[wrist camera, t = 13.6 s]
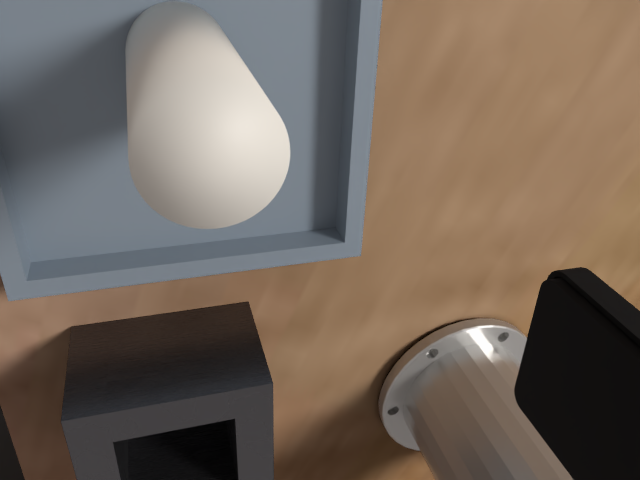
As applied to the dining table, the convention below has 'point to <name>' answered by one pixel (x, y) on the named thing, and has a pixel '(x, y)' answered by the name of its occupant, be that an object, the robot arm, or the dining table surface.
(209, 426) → the socket block
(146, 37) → the dowel pin
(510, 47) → the dining table surface
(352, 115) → the tray
